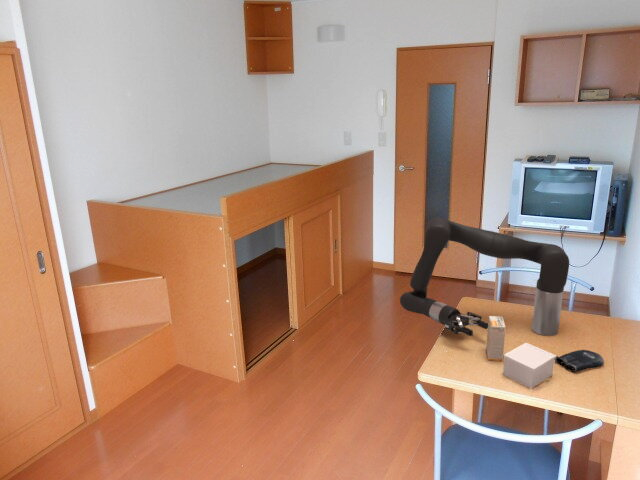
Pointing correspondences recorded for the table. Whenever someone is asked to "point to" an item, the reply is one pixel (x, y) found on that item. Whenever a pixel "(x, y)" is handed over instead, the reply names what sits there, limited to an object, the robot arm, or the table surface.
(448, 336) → the table surface
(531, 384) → the storage box
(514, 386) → the table surface
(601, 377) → the table surface
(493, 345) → the supplement box
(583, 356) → the electronic device
